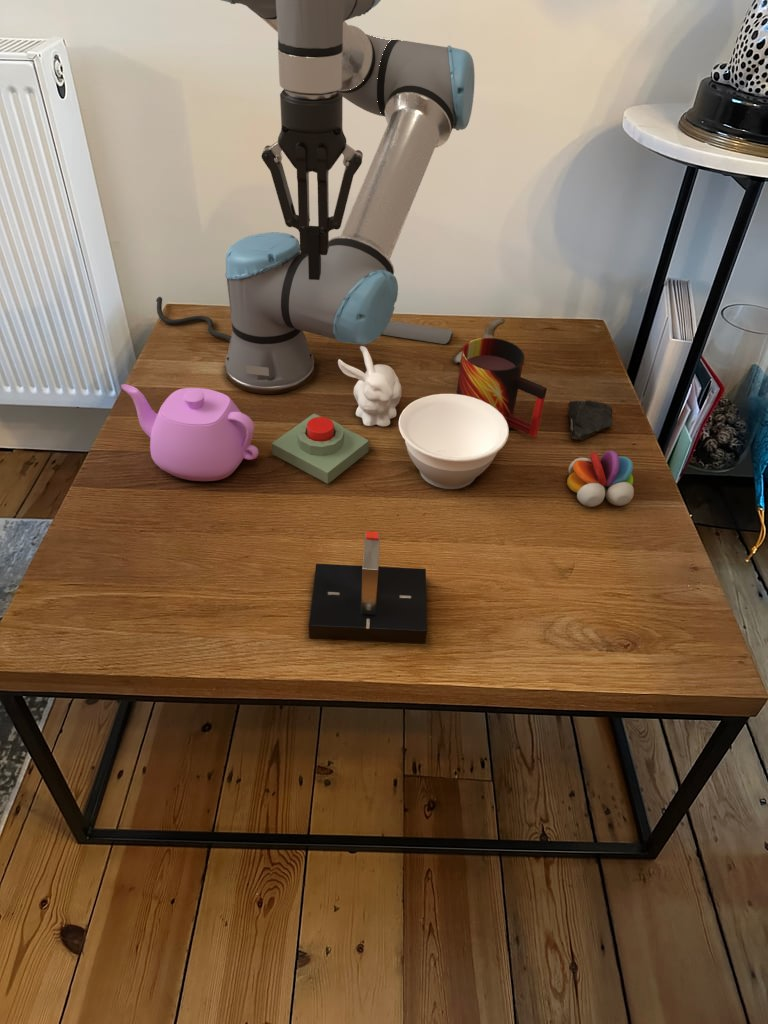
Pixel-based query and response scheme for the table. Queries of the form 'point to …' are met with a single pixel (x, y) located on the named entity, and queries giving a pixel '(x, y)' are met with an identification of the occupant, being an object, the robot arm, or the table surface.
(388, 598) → the control panel
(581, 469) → the rainbow petal toy
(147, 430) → the teapot
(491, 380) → the mug
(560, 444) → the table surface
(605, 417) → the rock
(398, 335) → the half round rod
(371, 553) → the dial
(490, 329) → the skull
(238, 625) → the table surface
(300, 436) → the button box
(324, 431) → the button
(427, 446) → the bowl
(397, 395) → the rabbit
